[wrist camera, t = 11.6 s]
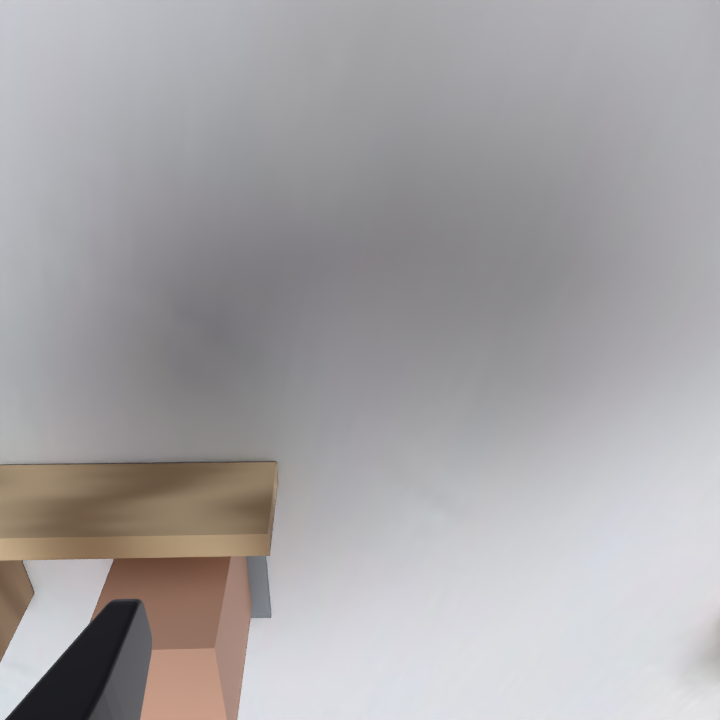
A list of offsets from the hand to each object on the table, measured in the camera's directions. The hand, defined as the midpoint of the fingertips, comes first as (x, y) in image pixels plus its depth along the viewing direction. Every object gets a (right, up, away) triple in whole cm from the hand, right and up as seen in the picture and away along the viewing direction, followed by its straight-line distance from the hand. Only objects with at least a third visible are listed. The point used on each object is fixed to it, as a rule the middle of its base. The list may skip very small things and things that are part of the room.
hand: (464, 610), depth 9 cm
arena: (-10, -4, +16) cm, 20 cm away
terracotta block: (-8, -5, +16) cm, 19 cm away
